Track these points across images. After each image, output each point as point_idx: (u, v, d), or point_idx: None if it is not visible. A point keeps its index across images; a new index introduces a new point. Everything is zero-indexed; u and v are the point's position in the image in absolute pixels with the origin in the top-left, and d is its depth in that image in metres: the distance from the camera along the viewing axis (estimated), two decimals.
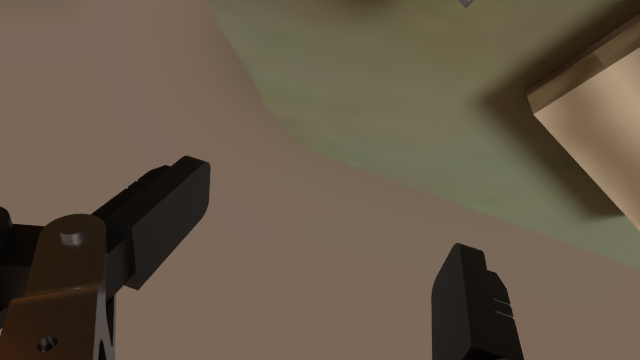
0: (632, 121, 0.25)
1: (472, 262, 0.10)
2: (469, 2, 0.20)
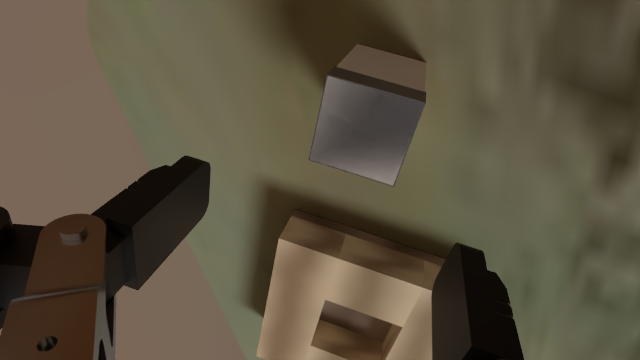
0: (317, 293, 0.30)
1: (472, 262, 0.10)
2: (314, 160, 0.19)
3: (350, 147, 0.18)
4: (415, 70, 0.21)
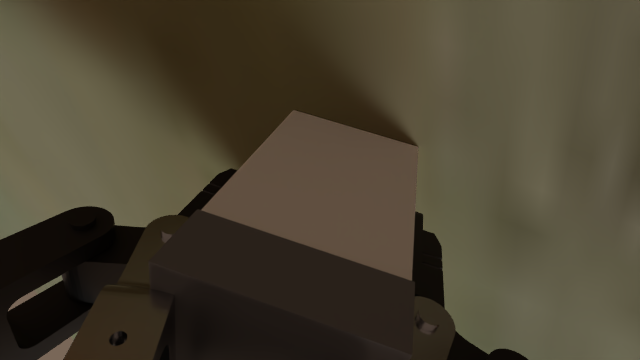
0: None
1: None
2: None
3: None
4: (395, 179, 0.10)
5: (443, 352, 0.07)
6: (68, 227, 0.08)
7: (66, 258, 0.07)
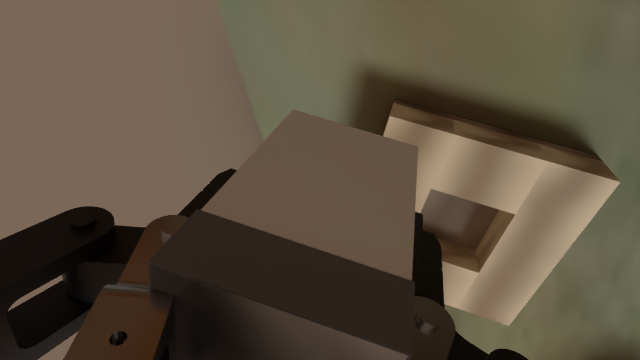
0: (423, 182, 0.29)
1: None
2: None
3: None
4: (395, 179, 0.10)
5: (443, 352, 0.07)
6: (68, 227, 0.08)
7: (66, 258, 0.07)
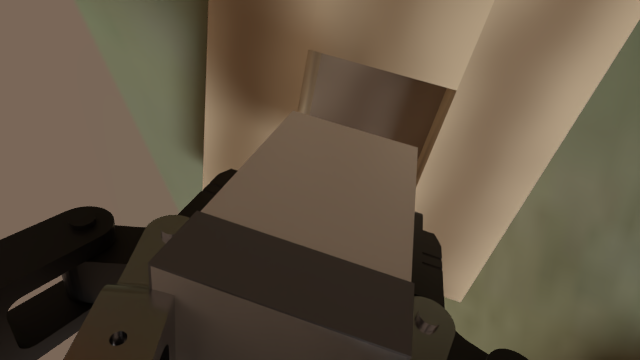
0: (293, 37, 0.16)
1: None
2: None
3: None
4: (394, 180, 0.10)
5: (443, 352, 0.07)
6: (68, 227, 0.08)
7: (66, 258, 0.07)
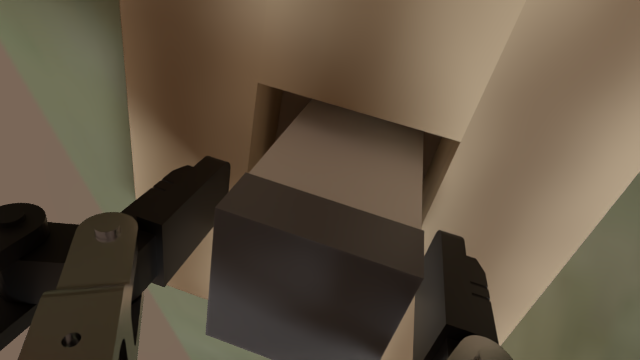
0: (237, 65, 0.12)
1: (452, 247, 0.10)
2: (215, 336, 0.10)
3: (277, 328, 0.09)
4: (404, 156, 0.12)
5: None
6: None
7: (0, 256, 0.07)
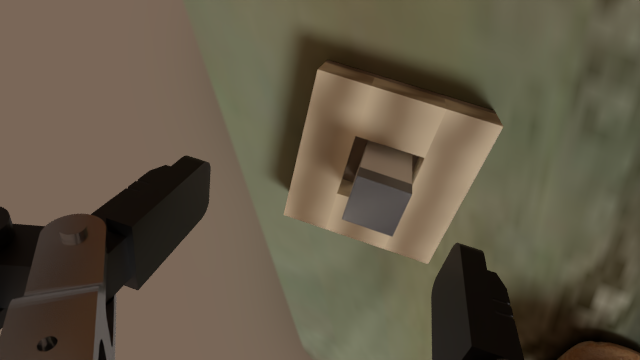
0: (348, 130, 0.33)
1: (472, 262, 0.10)
2: (345, 219, 0.32)
3: (367, 214, 0.31)
4: (405, 162, 0.34)
5: None
6: None
7: None
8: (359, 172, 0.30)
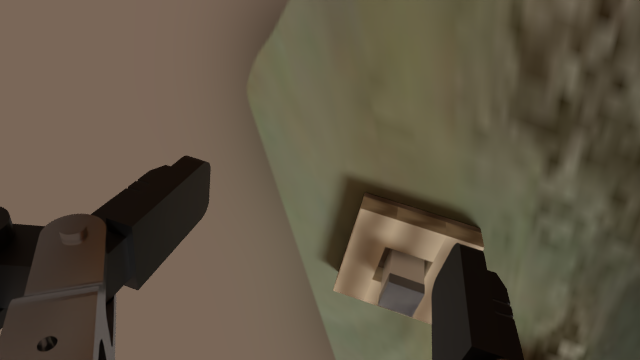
0: (380, 243, 0.49)
1: (472, 262, 0.10)
2: (380, 305, 0.48)
3: (395, 303, 0.47)
4: (420, 263, 0.50)
5: None
6: None
7: None
8: (389, 278, 0.46)
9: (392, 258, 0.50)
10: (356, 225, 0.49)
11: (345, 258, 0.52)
